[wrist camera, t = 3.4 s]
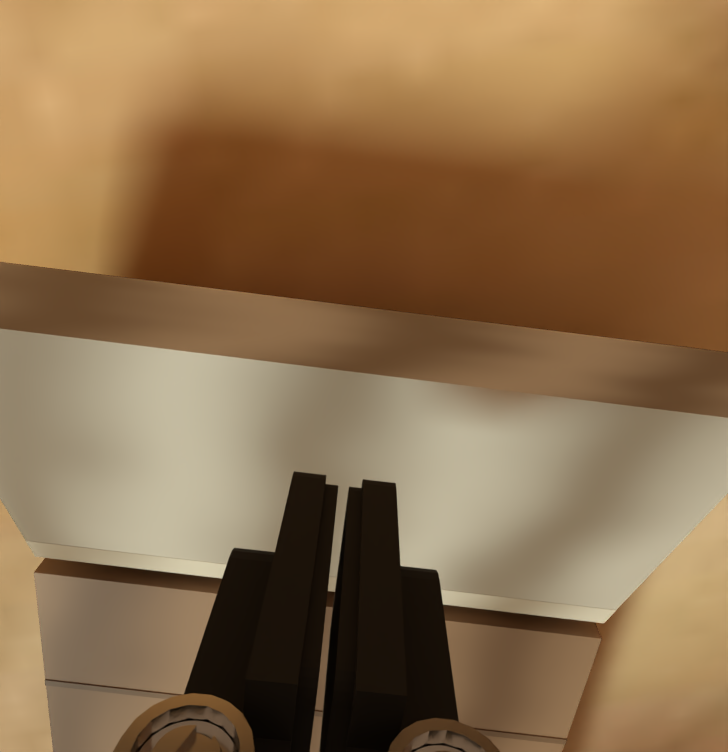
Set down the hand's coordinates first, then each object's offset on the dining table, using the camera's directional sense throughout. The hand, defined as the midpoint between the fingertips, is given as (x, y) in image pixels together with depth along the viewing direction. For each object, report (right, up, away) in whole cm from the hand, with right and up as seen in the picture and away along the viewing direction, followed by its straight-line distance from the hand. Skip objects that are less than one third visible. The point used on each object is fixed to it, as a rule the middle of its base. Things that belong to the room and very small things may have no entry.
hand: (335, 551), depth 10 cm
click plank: (0, +1, +7) cm, 7 cm away
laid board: (-1, -8, +13) cm, 15 cm away
